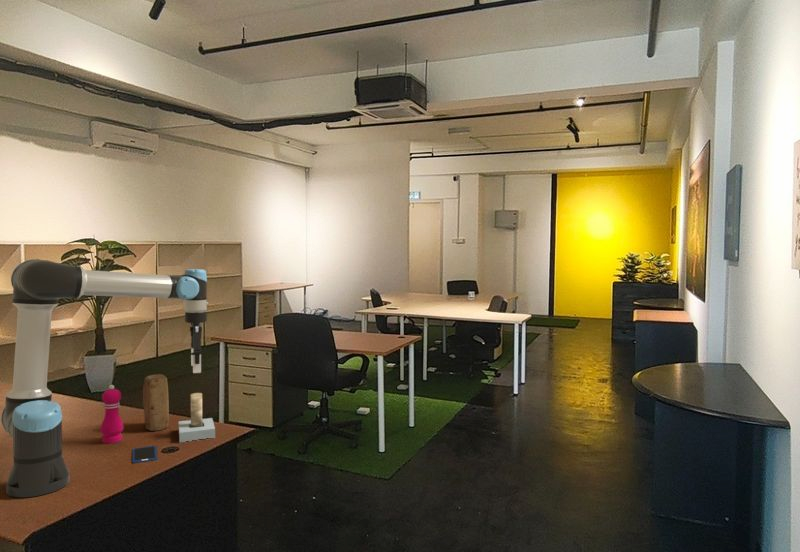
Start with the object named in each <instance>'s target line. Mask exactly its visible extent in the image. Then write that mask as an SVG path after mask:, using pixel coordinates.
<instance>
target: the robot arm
mask: <svg viewBox="0 0 800 552" xmlns="http://www.w3.org/2000/svg"><path fill="white" fill-rule="evenodd" d="M10 284H11V286H12V288H13V289H12V305H13V306H14V307H16V309H17V318H16V319H17V320H16V323H17V324H16V337H15V350H14V361H13V362H14V366H13V376H12V377H13V379H12V389H11V390H10V391H8V392H7V393H6V394H5V404H4V405H5V406H4V408H3V410H2V412H1V424H2V425H1V426H2V427H3V429H4V430H5V432H6V433H7V434H8V435H9V436H10V437H11V438H12V446H13V447H12V448H13V449H12V454H13V463H12V464H13V465H12V467H11V471H10V472H9V476H8V479H7V480H6V485H5V488H6V489H5V490H6V491H5V493H6V495H8V496H10V497H12V498H33V497H39V496H43V495H47V494H51V493H54V492H56V491H59V490H61V489H63V488H65V487H66V486H67V485H68V484H69V483H70V476H71V475H70V471H69V469H68V466H67V463H66V461H65V459H64V457H63V427H62V426H63V423H62V421H63V412H62V407H61V405H60V404H59V403H58V402H55V401H53V400H52V399H53V398H52V397H53V392H52V391H51V390H50V389H49V388H48V385H47V384H48V370H49V356H50V345H51V344H50V340H51V329H52V311H53V309H55V308H56V307H57V306H58V305H59V300H60V299H79V298H81V297H82V296H100V297H123V298H124V297H126V298H128V297H129V298H152V299H154V298H156V299H176V300H177V299H178V300H184V311H185V312H184V322H185V323H188V324H190V325H191V326H189V332H190V337H191V340H190V342H191V343H190V347H191V348H190V351H191V352H190V359H191V360H190V363H191V364H190V366H191V367H192V373H193V374H201V373H202V336H203V335H202V333H203V326H201V323H202V324H203V323H206V322H207V321H208V313H207V308H208V305H209V302H208V301H207V299H208V298H207V295H208V294H207V292H208V291H207V288H208V286H207V285H208V277H207V271H206V270H205V269H204V268H203V269H201V268H200V269H199V268H196V269H194V268H191V269H189V268H188V269H185V270H184V274H154V273H153V274H151V273H149V274H148V273H137V272H135V273H134V272H123V271H122V272H119V271H107V270H106V271H105V270H90V269H84V268H83V267H82V266H81V265H71V264H65V263H60V262H55V261H52V260H49V259H47V260H45V259H39V258H36V259H34V258H33V259H27V260H25V261H22V262H20V264H17V266H16V267H15V268H14V270H13V271H12V273H11V276H10Z"/></svg>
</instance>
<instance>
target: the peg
mask: <svg viewBox="0 0 800 552" xmlns="http://www.w3.org/2000/svg"><path fill="white" fill-rule="evenodd" d="M202 419H203V393H202V392H194V393H191V394H190V420H191V428H194V427H202V425H203V424H202Z"/></svg>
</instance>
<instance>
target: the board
mask: <svg viewBox="0 0 800 552" xmlns="http://www.w3.org/2000/svg"><path fill="white" fill-rule="evenodd" d="M202 424H203V425H202V427H194V428H191V419H189V420H181V421H178V438H179V441H178V442H179V443H187V442H186V441H189V442H193V441H192V440H197V441H199V440H198V439H206V438H214V439H216V426H215V423H214V420H213V417H208V418H202ZM206 440H207V439H206Z"/></svg>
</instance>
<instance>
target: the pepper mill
mask: <svg viewBox="0 0 800 552" xmlns="http://www.w3.org/2000/svg"><path fill="white" fill-rule="evenodd" d="M101 398H102V401H103V402H104V403H103V408H104V410H105V411H104V412H105V414H104V418H103V421H102V423H101V425H100V433H101V434H102V435H103V436H102V438H101V439H102V441H101V442H102V443H103V444H115V443H119V442H121V441H122V440H123V434H122V432H123V431H124V423H123V420H122V419H121V416H120V413H119V407H120V404H121V403H120V402H121V401H120V400H121V398H122V393H121V391H120V390H119V389H116V388H115V385H114V384H110V385H109V386H108V389H106V390H105V391H104V392H103V393H102V395H101Z"/></svg>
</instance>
